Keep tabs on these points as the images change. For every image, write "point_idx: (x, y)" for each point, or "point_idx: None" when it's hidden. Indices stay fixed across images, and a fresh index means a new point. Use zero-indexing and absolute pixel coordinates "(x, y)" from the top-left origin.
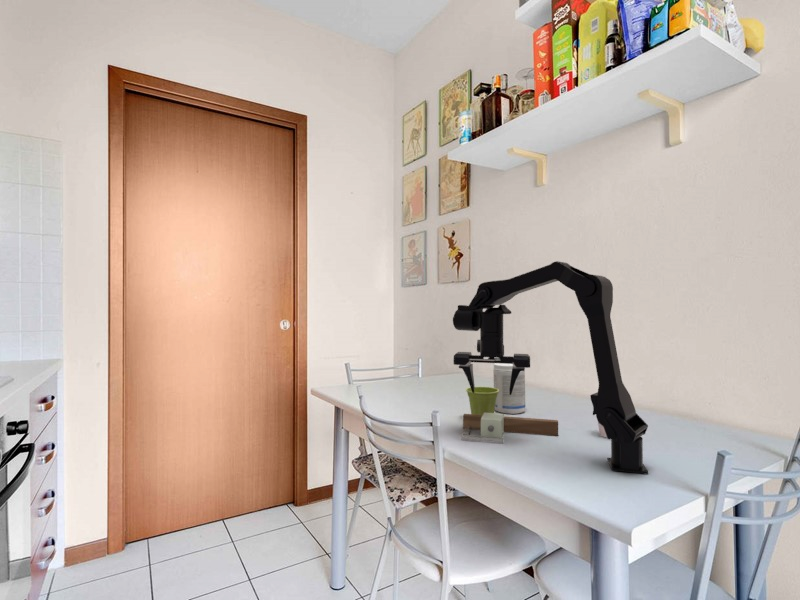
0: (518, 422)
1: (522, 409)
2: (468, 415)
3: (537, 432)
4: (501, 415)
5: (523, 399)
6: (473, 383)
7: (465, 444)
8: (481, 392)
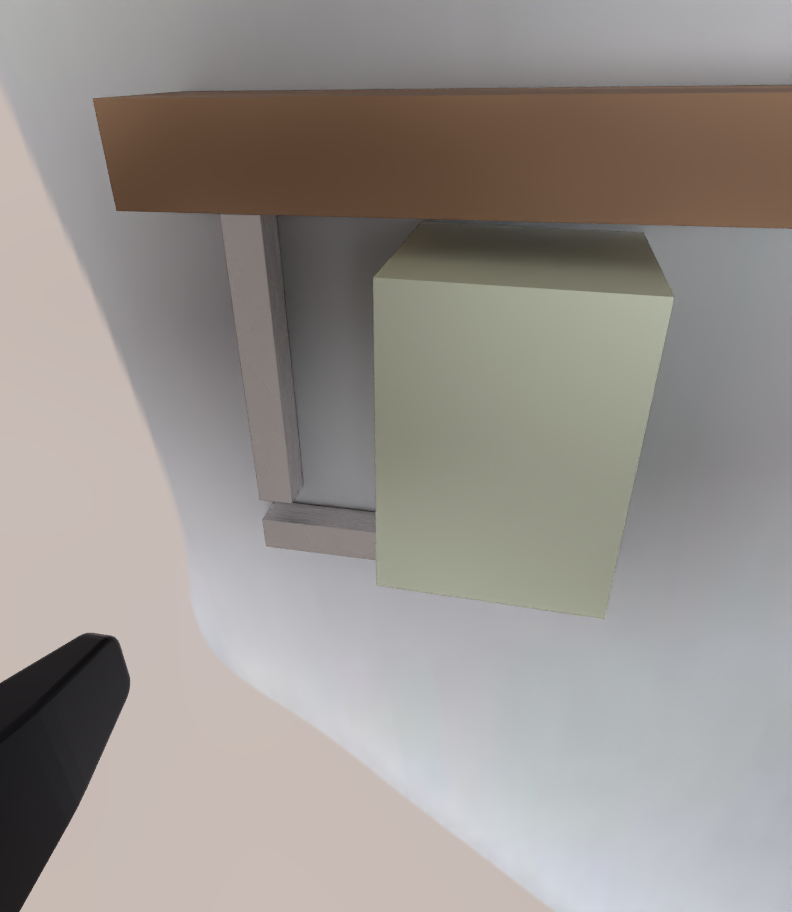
0: None
1: None
2: (175, 192)
3: None
4: (628, 399)
5: None
6: (8, 859)
7: (328, 604)
8: None
